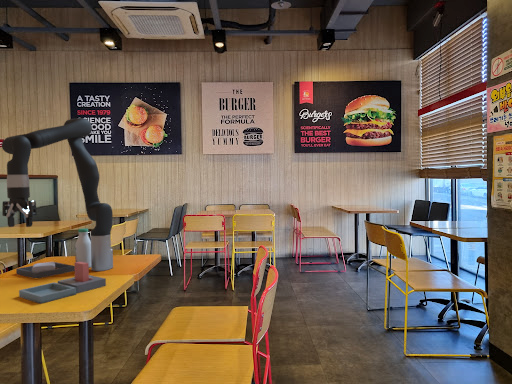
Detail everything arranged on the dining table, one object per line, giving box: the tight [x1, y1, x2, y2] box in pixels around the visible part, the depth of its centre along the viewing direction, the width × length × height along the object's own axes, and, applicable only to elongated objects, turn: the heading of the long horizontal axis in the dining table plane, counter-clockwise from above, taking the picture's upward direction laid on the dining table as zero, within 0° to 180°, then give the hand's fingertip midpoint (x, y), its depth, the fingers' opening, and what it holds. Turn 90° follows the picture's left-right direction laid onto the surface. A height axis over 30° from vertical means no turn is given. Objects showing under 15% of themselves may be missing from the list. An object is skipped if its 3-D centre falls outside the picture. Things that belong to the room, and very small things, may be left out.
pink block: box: [74, 261, 90, 282], centre depth 147 cm, size 2×6×10 cm, turn 57°
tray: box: [18, 281, 77, 305], centre depth 136 cm, size 13×16×2 cm
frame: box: [15, 261, 75, 279], centre depth 175 cm, size 18×19×2 cm
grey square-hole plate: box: [57, 274, 107, 294], centre depth 147 cm, size 12×14×4 cm
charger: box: [32, 261, 56, 273], centre depth 175 cm, size 5×9×15 cm
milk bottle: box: [74, 228, 91, 269], centre depth 185 cm, size 8×8×20 cm
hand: (20, 226), depth 144 cm, fingers open, 8 cm apart
